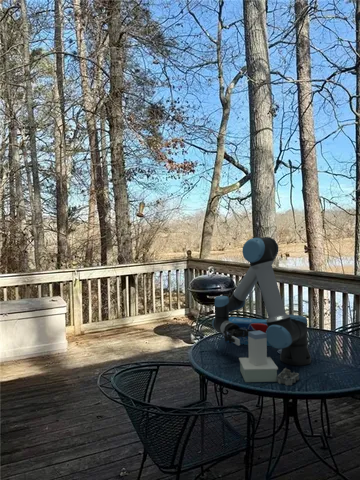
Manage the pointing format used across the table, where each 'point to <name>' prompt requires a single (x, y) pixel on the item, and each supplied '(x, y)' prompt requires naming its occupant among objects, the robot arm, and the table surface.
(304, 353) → the robot arm
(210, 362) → the table surface
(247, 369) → the podium
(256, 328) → the soda box
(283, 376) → the egg carton
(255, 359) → the milk carton
